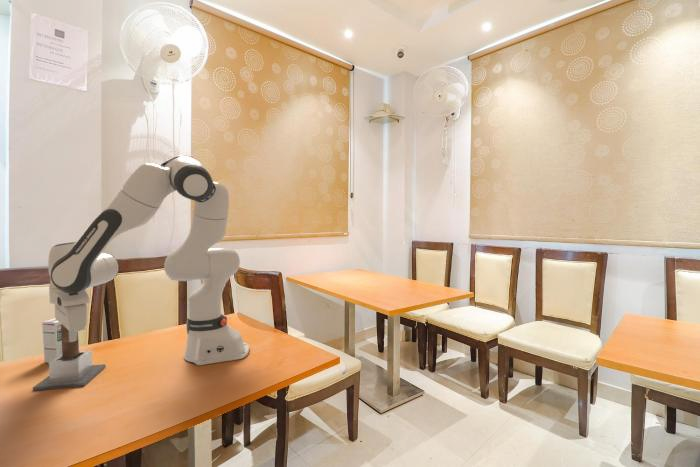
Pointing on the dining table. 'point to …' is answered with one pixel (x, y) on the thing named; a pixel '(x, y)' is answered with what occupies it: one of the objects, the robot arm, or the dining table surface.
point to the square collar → (70, 372)
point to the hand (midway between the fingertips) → (70, 339)
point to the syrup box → (52, 339)
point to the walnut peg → (68, 344)
